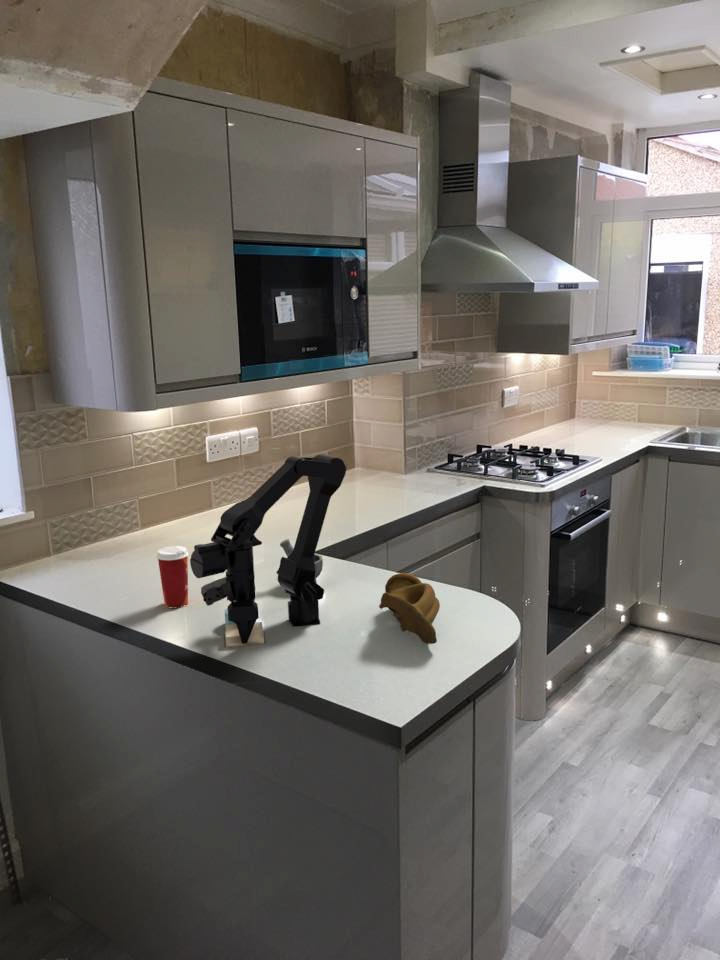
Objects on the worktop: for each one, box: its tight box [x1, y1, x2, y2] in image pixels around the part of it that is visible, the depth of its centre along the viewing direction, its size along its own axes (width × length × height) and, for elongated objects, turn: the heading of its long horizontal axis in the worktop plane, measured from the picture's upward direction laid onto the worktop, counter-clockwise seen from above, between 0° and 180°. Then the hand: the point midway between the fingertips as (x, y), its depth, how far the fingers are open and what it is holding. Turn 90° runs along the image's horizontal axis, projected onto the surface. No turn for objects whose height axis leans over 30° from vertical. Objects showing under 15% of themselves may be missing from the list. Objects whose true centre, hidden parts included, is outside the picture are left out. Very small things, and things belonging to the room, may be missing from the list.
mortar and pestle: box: [279, 538, 324, 584], centre depth 204 cm, size 11×9×12 cm
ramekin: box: [224, 607, 236, 626], centre depth 179 cm, size 6×6×4 cm
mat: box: [223, 630, 267, 649], centre depth 171 cm, size 9×7×1 cm
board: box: [225, 621, 264, 648], centre depth 171 cm, size 8×6×2 cm
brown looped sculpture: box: [378, 572, 441, 645], centre depth 174 cm, size 18×13×22 cm
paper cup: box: [156, 545, 190, 608], centre depth 192 cm, size 8×8×14 cm
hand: (243, 635), depth 171 cm, fingers open, 8 cm apart
